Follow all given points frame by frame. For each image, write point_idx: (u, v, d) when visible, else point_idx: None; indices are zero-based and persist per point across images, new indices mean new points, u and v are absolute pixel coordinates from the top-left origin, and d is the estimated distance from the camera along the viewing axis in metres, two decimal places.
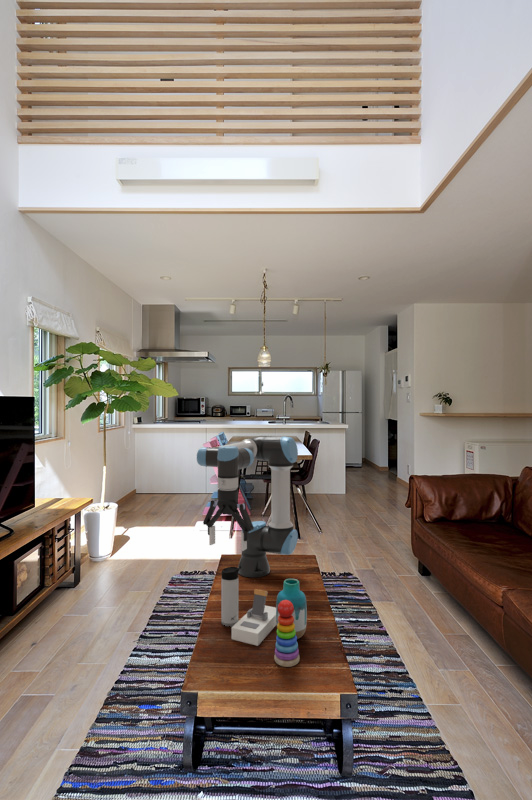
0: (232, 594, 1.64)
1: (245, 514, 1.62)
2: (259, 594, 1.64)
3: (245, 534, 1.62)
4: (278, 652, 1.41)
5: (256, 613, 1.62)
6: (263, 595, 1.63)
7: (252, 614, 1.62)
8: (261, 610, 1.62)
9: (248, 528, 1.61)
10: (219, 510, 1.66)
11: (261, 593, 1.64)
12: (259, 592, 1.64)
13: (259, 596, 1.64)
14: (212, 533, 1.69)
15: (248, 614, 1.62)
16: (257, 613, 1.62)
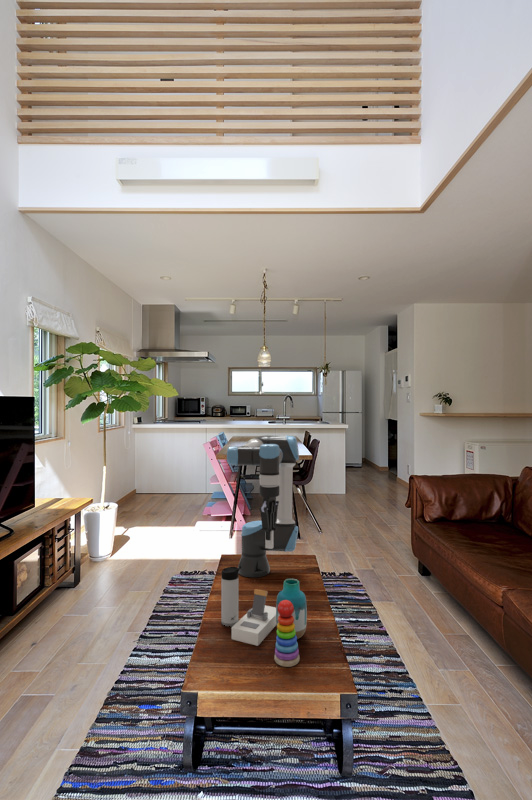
0: (232, 594, 1.64)
1: (262, 516, 1.67)
2: (259, 594, 1.64)
3: None
4: (278, 652, 1.41)
5: (256, 613, 1.62)
6: (263, 595, 1.63)
7: (252, 614, 1.62)
8: (261, 610, 1.62)
9: None
10: None
11: (261, 593, 1.64)
12: (259, 592, 1.64)
13: (259, 596, 1.64)
14: None
15: (248, 614, 1.62)
16: (257, 613, 1.62)
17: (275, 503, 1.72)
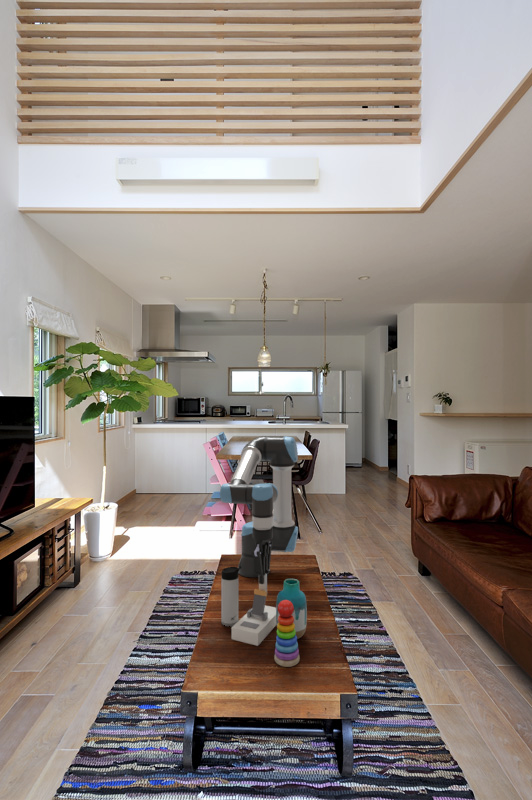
0: (232, 594, 1.64)
1: (255, 560, 1.62)
2: (259, 594, 1.64)
3: None
4: (278, 652, 1.41)
5: (256, 613, 1.62)
6: (263, 595, 1.63)
7: (252, 614, 1.62)
8: (261, 610, 1.62)
9: None
10: None
11: (261, 593, 1.64)
12: (259, 592, 1.64)
13: (259, 596, 1.64)
14: None
15: (248, 614, 1.62)
16: (257, 613, 1.62)
17: (269, 545, 1.67)
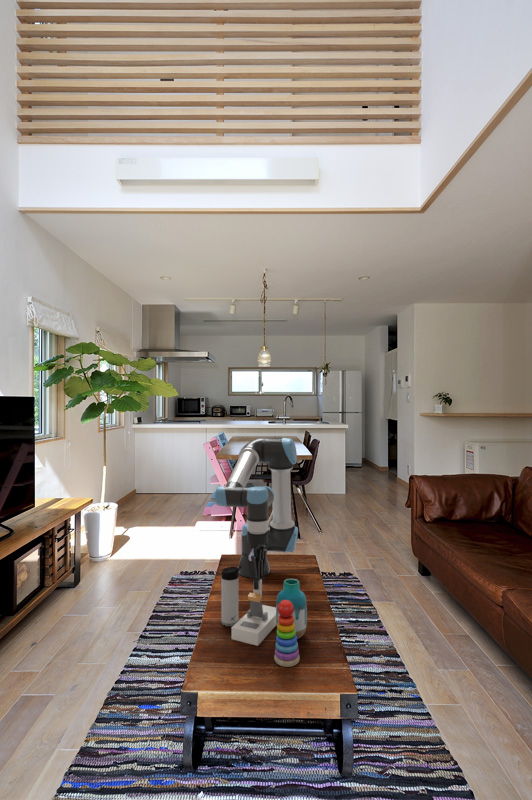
0: (232, 594, 1.64)
1: (250, 565, 1.58)
2: (253, 600, 1.60)
3: None
4: (278, 652, 1.41)
5: (255, 614, 1.62)
6: (258, 601, 1.59)
7: (252, 615, 1.62)
8: (260, 613, 1.61)
9: None
10: None
11: (255, 600, 1.59)
12: (253, 599, 1.60)
13: (254, 602, 1.60)
14: None
15: (248, 614, 1.62)
16: (257, 615, 1.61)
17: (263, 550, 1.63)
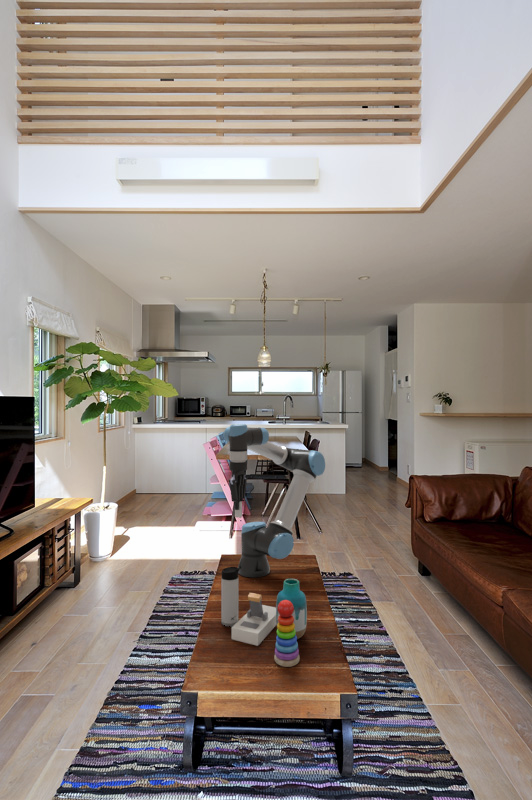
0: (232, 594, 1.64)
1: (231, 488, 1.87)
2: (253, 600, 1.60)
3: None
4: (278, 652, 1.41)
5: (255, 614, 1.62)
6: (258, 601, 1.59)
7: (252, 615, 1.62)
8: (260, 613, 1.61)
9: None
10: None
11: (255, 600, 1.59)
12: (253, 599, 1.60)
13: (254, 602, 1.60)
14: None
15: (248, 614, 1.62)
16: (257, 615, 1.61)
17: (243, 477, 1.92)
